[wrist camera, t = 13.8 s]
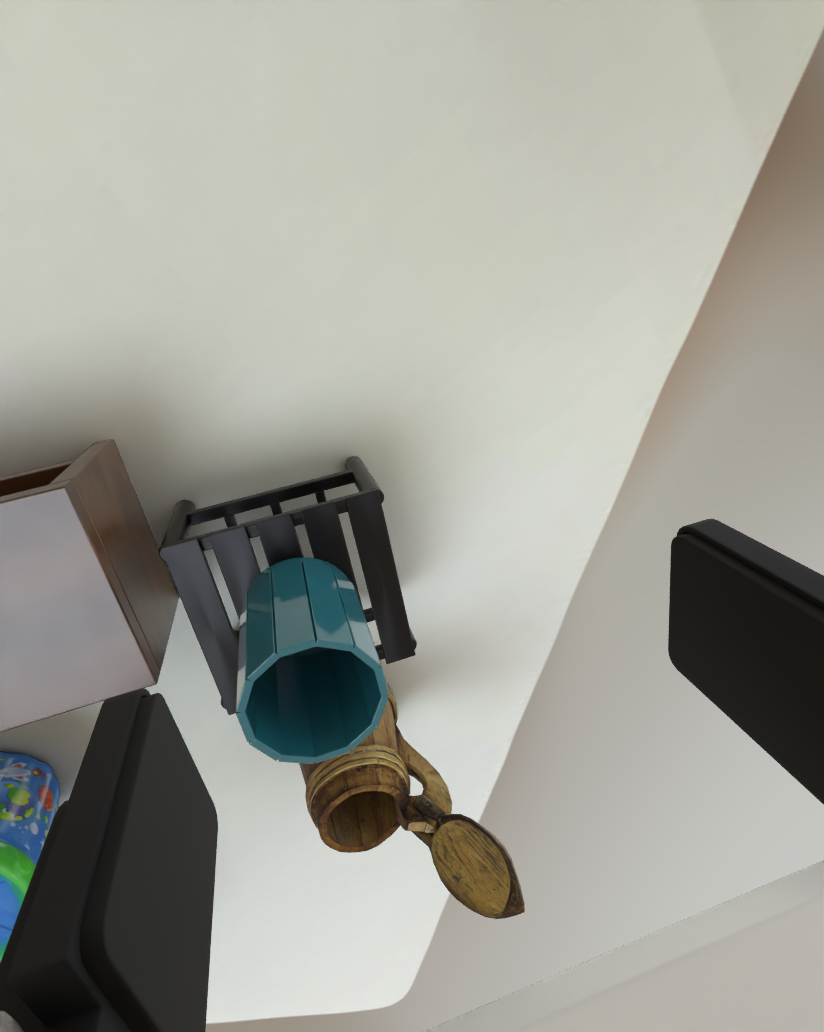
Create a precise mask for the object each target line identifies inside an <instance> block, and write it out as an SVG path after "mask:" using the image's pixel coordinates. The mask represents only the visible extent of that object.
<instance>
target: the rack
mask: <svg viewBox="0 0 824 1032" xmlns="http://www.w3.org/2000/svg"><path fill="white" fill-rule="evenodd" d="M346 469H347V471H343V472H339V473H335V474H332V475H328V476H324V477H320V478H316V479H312V480H309V481H305V482H301V483H297V484H293V485H289V486H286V487H282V488H278V489H274V490H270V491H266V492H263V493H259V494H255V495H251V496H247V497H243V498H240V499H236V500H232V501H228V502H224V503H220V504H217V505H213V506H209V507H205V508H201V509H197V510H195V507H194V504H193V503H192V502H190V501H188V500H182V501H180V502H178V503H177V505H176V507H175V510H174V513H173V515H172V518H171V521H170V523H169V526H168V529H167V531H166V534H165V537H164V539H163V542H162V545H161V547H160V550H159V555H160V557H161V559H162V560H164V561H165V562H166V563H167V566H168V568H169V571H170V573H171V576H172V578H173V580H174V583H175V585H176V588H177V590H178V593H179V595H180V597H181V600H182V602H183V605H184V607H185V610H186V612H187V615H188V617H189V619H190V622H191V624H192V627H193V629H194V632H195V634H196V636H197V639H198V641H199V644H200V646H201V649H202V651H203V653H204V656H205V658H206V661H207V663H208V666H209V668H210V671H211V673H212V675H213V678H214V680H215V683H216V685H217V688H218V690H219V692H220V695H221V705H222V707H223V708H225V709H227V712H228V714H229V715H231V714H234V713H236V703H237V680H238V657H239V634H240V632H237V631H233V628H232V626H231V623H230V620H229V618H228V615H227V612H226V610H225V607H224V604H223V602H222V599H221V596H220V594H219V591H218V588H217V586H216V583H215V580H214V578H213V575H212V572H211V570H210V567H209V565H208V562H207V559H206V557H205V554H204V551H205V550H209V549H214V552H215V555H216V558H217V560H218V563H219V566H220V568H221V571H222V574H223V577H224V579H225V582H226V585H227V587H228V590H229V593H230V596H231V598H232V601H233V604H234V606H235V609H236V612H237V615H238V617H239V620H240V616H241V612H242V606H243V601H244V597H245V594H246V592H247V590H248V588H249V586H250V585H251V584H252V582H253V581H254V580H255V579H256V577H257V576H258V575H259V574H261V571H260V568H259V565H258V562H257V559H256V556H255V554H254V551H253V548H252V545H251V542H250V539H249V538H253V537H257V536H260V539H261V542H262V545H263V549H264V552H265V555H266V558H267V561H268V564H269V567H270V566H272V565H274V564H276V563H278V562H281V561H284V560H288V559H292V558H304V557H303V554H302V551H301V547H300V544H299V540H298V537H297V534H296V530H295V527H294V526H297V525H301V524H305V528H306V531H307V534H308V538H309V541H310V545H311V548H312V552H313V555H314V558H315V559H319V560H323V561H326V562H328V563H330V564H332V565H334V566H336V567H337V568H338V569H340V570H341V571H342V572H343V573H344V574H345V575H346V576H347V577H348V579H349V580H350V582H351V583H352V584H353V585H354V588H355V591H356V594H357V596H358V599H359V602H360V605H361V608H362V611H363V614H364V617H365V620H366V622H370V621H373V620H375V621H376V625H377V629H378V633H379V637H380V640H381V645H377V646H375V648H376V651H377V654H378V657H379V660H381V659H384V658H385V660H386V663H387V664H389V663H392V662H395V661H399V660H402V659H405V658H408V657H411V656H414V655H415V648H416V645H417V643H416V640H415V638H414V636H413V634H412V632H411V630H410V628H409V624H408V619H407V615H406V610H405V606H404V602H403V597H402V593H401V588H400V584H399V579H398V575H397V571H396V566H395V562H394V557H393V553H392V548H391V544H390V540H389V535H388V531H387V526H386V522H385V517H384V513H383V509H382V502H383V500H384V494H383V492H382V491H381V489H380V488H379V486H378V485H377V483H376V482H375V480H374V479H373V477H372V476H371V474H370V473H369V471H368V470H367V468H366V467H365V465H364V464H363V462H362V461H361V459H360V458H359V457H356V456H352V457H350V458H348V459H347V461H346ZM351 483H355V485H356V487H357V489H358V491H359V493H356V494H352V495H348V496H344V497H341V498H337V499H333V500H330V501H326V497H325V493H324V490H328V489H332V488H335V487H339V486H343V485H347V484H351ZM313 493H315V495H316V499H317V502H318V504H315V505H311V506H307V507H303V508H300V509H296V510H292V511H289V512H285V513H283V512H282V509H281V506H280V502H283V501H286V500H290V499H294V498H298V497H301V496H305V495H309V494H313ZM268 505H270V506H271V510H272V513H273V516H270V517H266V518H262V519H259V520H255V521H251V522H248V523H244V524H240V525H238V524H237V521H236V518H235V515H234V514H237V513H241V512H245V511H249V510H252V509H256V508H260V507H264V506H268ZM345 512H348V514H349V518H350V522H351V526H352V530H353V534H354V538H355V542H356V546H357V550H358V554H359V558H360V562H361V565H362V569H363V573H364V577H365V581H366V585H367V589H368V593H369V597H370V601H371V605H372V608H369V609H366V610H363V607H362V604H361V600H360V596H359V592H358V588H357V584H356V581H355V577H354V573H353V569H352V565H351V562H350V558H349V554H348V550H347V546H346V542H345V539H344V535H343V531H342V527H341V523H340V519H339V516H338V514H341V513H345ZM222 517H224V519H225V522H226V524H227V527H228V528H225V529H221V530H218V531H214V532H210V533H207V534H203V535H199V536H195V537H192V538H188V539H187V536H188V532H189V529H190V526H192V525H196V524H200V523H203V522H207V521H211V520H215V519H218V518H222Z"/></svg>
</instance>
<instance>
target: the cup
mask: <svg viewBox="0 0 824 1032" xmlns="http://www.w3.org/2000/svg"><path fill="white" fill-rule="evenodd" d="M388 695H389V692H388V688H387V684H386V681H385V677H384V673H383V669H382V666H381V663H380V660H379V657H378V654H377V651H376V648H375V645H374V643H373V640H372V637H371V634H370V631H369V628H368V625H367V622H366V620H365V617H364V614H363V611H362V608H361V605H360V602H359V599H358V596H357V594H356V591H355V588H354V585H353V584H352V583H351V582H350V580H349V579H348V577H347V576H346V575H345V574H344V573H343V572H342V571H341V570H340V569H338V568H337V567H336V566H334V565H332V564H330V563H328V562H326V561H323V560H319V559H315V558H292V559H288V560H284V561H281V562H278V563H276V564H274V565H272V566H270V567H269V568H267V569H266V570H264V571H263V572H262V573H261V574H259V575H258V576H257V577H256V579H255V580H254V581H253V582H252V584H251V585H250V586H249V588H248V590H247V592H246V594H245V597H244V601H243V606H242V612H241V616H240V634H239V657H238V680H237V703H236V715H237V717H238V720H239V722H240V725H241V727H242V730H243V732H244V735H245V737H246V740H247V742H249V744H250V745H252V746H253V747H255V748H257V749H258V750H260V751H261V752H263V753H265V754H266V755H268V756H269V757H271V758H273V759H274V760H278V761H279V762H292V763H306V764H313V763H314V761H315V763H319V762H322V761H325V760H328V759H331V758H334V757H337V756H339V755H342V754H345V753H348V752H350V750H353V749H354V748H355V747H356V746H358V745H359V744H360V743H361V742H362V741H363V740H364V739H365V738H366V737H368V736H369V735H370V734H371V733H372V732H373V731H374V730H375V729H376V728H377V726H378V725H379V723H380V720H381V717H382V715H383V712H384V709H385V706H386V704H387V701H388V698H389V696H388ZM349 749H350V750H349Z"/></svg>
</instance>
